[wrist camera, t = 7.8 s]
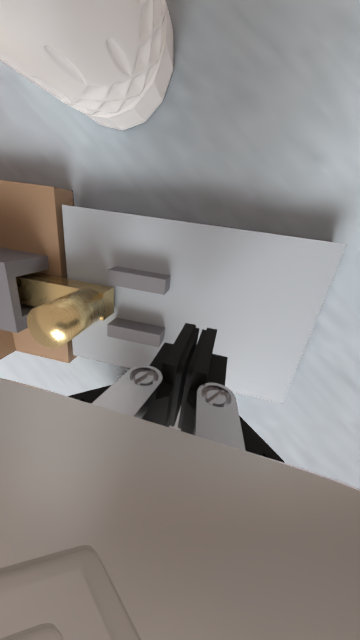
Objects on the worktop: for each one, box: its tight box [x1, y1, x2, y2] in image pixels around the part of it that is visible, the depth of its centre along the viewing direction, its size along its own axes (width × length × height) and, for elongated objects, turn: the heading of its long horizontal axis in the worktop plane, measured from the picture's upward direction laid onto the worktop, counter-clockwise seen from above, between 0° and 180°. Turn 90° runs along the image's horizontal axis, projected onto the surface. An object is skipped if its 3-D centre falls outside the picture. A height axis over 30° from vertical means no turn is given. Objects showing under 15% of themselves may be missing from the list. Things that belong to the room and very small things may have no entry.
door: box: [0, 180, 347, 403], centre depth 15 cm, size 26×14×8 cm, turn 83°
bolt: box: [16, 273, 114, 348], centre depth 15 cm, size 9×2×6 cm, turn 83°
